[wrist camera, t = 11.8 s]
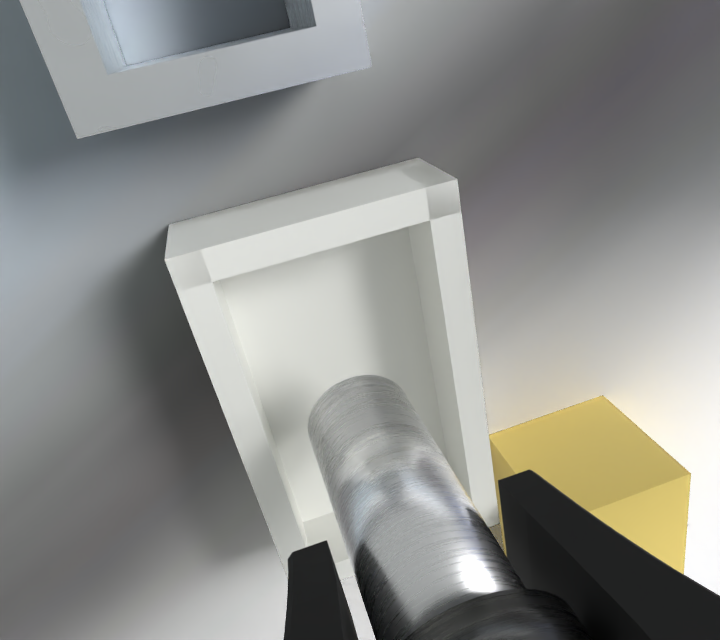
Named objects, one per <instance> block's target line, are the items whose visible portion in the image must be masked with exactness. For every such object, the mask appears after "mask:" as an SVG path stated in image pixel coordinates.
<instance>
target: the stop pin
mask: <svg viewBox="0 0 720 640" xmlns="http://www.w3.org/2000/svg"><path fill="white" fill-rule="evenodd" d="M308 435H309V439H310V442H311V445H312V448H313V451H314V454H315V457H316V460H317V463H318V466H319V469H320V472H321V475H322V478H323V481H324V484H325V487H326V490H327V493H328V496H329V499H330V502H331V505H332V508H333V511H334V514H335V517H336V520H337V523H338V526H339V529H340V532H341V535H342V538H343V541H344V545H345V548H346V551H347V554H348V557H349V560H350V563H351V566H352V569H353V572H354V575H355V578H356V581H357V584H358V587H359V590H360V593H361V596H362V599H363V602H364V605H365V608H366V611H367V614H368V617H369V620H370V623H371V626H372V629H373V632H374V635H375V638H376V640H593V639H592V638H591V636H590V635H589V633H588V632H587V630H586V629H585V627H584V626H583V624H582V623H581V621H580V620H579V618H578V617H577V615H576V614H575V612H574V611H573V609H572V608H571V607H570V605H569V604H568V603H567V602H566V601H565V600H564V599H562V598H560V597H559V596H557V595H555V594H552V593H549V592H547V591H542V590H536V589H526V587H525V586H524V584H523V583H522V581H521V579H520V578H519V576H518V574H517V573H516V571H515V570H514V568H513V566H512V565H511V563H510V562H509V560H508V558H507V557H506V555H505V554H504V552H503V550H502V549H501V547H500V545H499V544H498V542H497V541H496V539H495V537H494V536H493V534H492V533H491V531H490V529H489V528H488V526H487V525H486V523H485V521H484V520H483V518H482V517H481V515H480V513H479V512H478V510H477V508H476V507H475V505H474V504H473V502H472V500H471V499H470V497H469V496H468V494H467V492H466V491H465V489H464V488H463V486H462V484H461V483H460V481H459V479H458V478H457V476H456V475H455V473H454V471H453V470H452V468H451V467H450V465H449V463H448V462H447V460H446V459H445V457H444V455H443V454H442V452H441V450H440V449H439V447H438V446H437V444H436V442H435V441H434V439H433V438H432V436H431V434H430V433H429V431H428V430H427V428H426V426H425V425H424V423H423V421H422V420H421V418H420V417H419V415H418V413H417V412H416V410H415V409H414V407H413V405H412V404H411V402H410V401H409V399H408V397H407V396H406V394H405V393H404V391H403V390H402V388H401V387H400V386H399V385H398V384H396V383H395V382H394V381H392V380H390V379H388V378H385V377H382V376H377V375H361V376H355V377H351V378H348V379H345V380H343V381H341V382H339V383H337V384H335V385H334V386H332V387H331V388H329V389H328V390H327V391H326V392H325V393H324V394H323V395H322V396H321V397H320V398H319V399H318V400H317V402H316V403H315V405H314V406H313V408H312V410H311V413H310V415H309V419H308Z"/></svg>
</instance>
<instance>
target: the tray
mask: <svg viewBox="0 0 720 640" xmlns="http://www.w3.org/2000/svg"><path fill="white" fill-rule="evenodd" d="M164 260H165V262H166V265H167V267H168V270H169V273H170V275H171V278H172V280H173V283H174V286H175V288H176V291H177V293H178V296H179V299H180V301H181V304H182V306H183V309H184V312H185V314H186V317H187V319H188V322H189V324H190V327H191V330H192V332H193V335H194V337H195V340H196V343H197V345H198V348H199V350H200V353H201V356H202V358H203V361H204V363H205V366H206V368H207V371H208V374H209V376H210V379H211V381H212V384H213V387H214V389H215V392H216V394H217V397H218V400H219V402H220V405H221V407H222V410H223V412H224V415H225V418H226V420H227V423H228V425H229V428H230V431H231V433H232V436H233V438H234V441H235V444H236V446H237V449H238V451H239V454H240V456H241V459H242V462H243V464H244V467H245V469H246V472H247V475H248V477H249V480H250V482H251V485H252V488H253V490H254V493H255V495H256V498H257V501H258V503H259V506H260V508H261V511H262V513H263V516H264V519H265V521H266V524H267V526H268V529H269V532H270V534H271V537H272V539H273V542H274V545H275V547H276V550H277V552H278V555H279V557H280V560H281V563H282V565H283V568H284V570H285V573H286V576H287V578H288V558H289V556H290V555H291V553H292V552H294V551H297V550H300V549H303V548H305V547H308V546H311V545H314V544H317V543H320V542H323V541H326V540H327V542H328V545H329V548H330V551H331V554H332V557H333V560H334V563H335V567H336V570H337V573H338V576H339V579H340V581H341V580H344V579H346V578H349V577H352V576H355V575H354V572H353V569H352V566H351V563H350V560H349V557H348V554H347V551H346V548H345V545H344V541H343V538H342V535H341V532H340V529H339V526H338V523H337V520H336V517H335V514H334V511H333V508H332V505H331V502H330V499H329V496H328V493H327V490H326V487H325V484H324V481H323V478H322V475H321V472H320V469H319V466H318V463H317V460H316V457H315V454H314V451H313V448H312V445H311V442H310V439H309V435H308V419H309V415H310V413H311V410H312V408H313V406H314V405H315V403H316V402H317V400H318V399H319V398H320V397H321V396H322V395H323V394H324V393H325V392H326V391H327V390H328V389H329V388H331V387H332V386H334V385H335V384H337V383H339V382H341V381H343V380H345V379H348V378H351V377H355V376H361V375H377V376H382V377H385V378H388V379H390V380H392V381H394V382H395V383H396V384H398V385H399V386H400V387H401V388H402V390H403V391H404V393H405V394H406V396H407V397H408V399H409V401H410V402H411V404H412V405H413V407H414V409H415V410H416V412H417V413H418V415H419V417H420V418H421V420H422V421H423V423H424V425H425V426H426V428H427V430H428V431H429V433H430V434H431V436H432V438H433V439H434V441H435V442H436V444H437V446H438V447H439V449H440V450H441V452H442V454H443V455H444V457H445V459H446V460H447V462H448V463H449V465H450V467H451V468H452V470H453V471H454V473H455V475H456V476H457V478H458V479H459V481H460V483H461V484H462V486H463V488H464V489H465V491H466V492H467V494H468V496H469V497H470V499H471V500H472V502H473V504H474V505H475V507H476V508H477V510H478V512H479V513H480V515H481V517H482V518H483V520H484V521H485V523H486V525H487V526H488V528H489V527H492V526H494V525H497V524H500V522H499V513H498V505H497V497H496V489H495V481H494V473H493V465H492V456H491V448H490V440H489V432H488V424H487V416H486V408H485V400H484V391H483V383H482V375H481V367H480V359H479V351H478V343H477V335H476V326H475V318H474V310H473V302H472V294H471V286H470V278H469V270H468V261H467V253H466V245H465V237H464V229H463V221H462V213H461V205H460V196H459V188H458V180H457V178H455V177H453V176H451V175H449V174H448V173H446V172H444V171H442V170H440V169H439V168H437V167H435V166H433V165H431V164H429V163H428V162H426V161H424V160H422V159H420V158H419V157H418V158H414V159H411V160H407V161H403V162H399V163H396V164H392V165H388V166H384V167H381V168H377V169H373V170H370V171H366V172H362V173H358V174H355V175H351V176H347V177H343V178H340V179H336V180H332V181H329V182H325V183H321V184H317V185H314V186H310V187H306V188H302V189H299V190H295V191H291V192H288V193H284V194H280V195H276V196H273V197H269V198H265V199H261V200H258V201H254V202H250V203H247V204H243V205H239V206H235V207H232V208H228V209H224V210H220V211H217V212H213V213H209V214H205V215H202V216H198V217H194V218H191V219H187V220H183V221H179V222H176V223H172V224H169V229H168V236H167V244H166V252H165V259H164Z"/></svg>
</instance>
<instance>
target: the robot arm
mask: <svg viewBox="0 0 720 640" xmlns="http://www.w3.org/2000/svg"><path fill="white" fill-rule="evenodd" d="M498 486H499V495H500V503H501V511H502V520H503V528H504V536H505V545H506V553H507V558H508V560H509V562H510V563H511V565H512V566H513V568H514V570H515V571H516V573H517V574H518V576H519V578H520V579H521V581H522V583H523V584H524V586H525V587H526V589H536V590H542V591H547V592H549V593H552V594H555V595H557V596H559V597H560V598H562V599H564V600H565V601H566V602H567V603H568V604H569V605H570V607H571V608H572V609H573V611H574V612H575V614H576V615H577V617H578V618H579V620H580V621H581V623H582V624H583V626H584V627H585V629H586V630H587V632H588V633H589V635H590V636H591V638H592V639H593V640H720V596H719V595H717V594H716V593H714V592H712V591H710V590H709V589H707V588H705V587H704V586H702V585H700V584H699V583H697V582H695V581H694V580H692V579H690V578H689V577H687V576H685V575H684V574H682V573H680V572H679V571H677V570H675V569H674V568H672V567H671V566H669V565H667V564H666V563H664V562H663V561H661V560H659V559H658V558H656V557H655V556H653V555H652V554H650V553H649V552H647V551H646V550H644V549H643V548H641V547H639V546H638V545H636V544H635V543H633V542H632V541H630V540H629V539H627V538H626V537H624V536H623V535H621V534H620V533H618V532H617V531H615V530H614V529H612V528H611V527H610V526H608V525H607V524H605V523H604V522H602V521H601V520H599V519H598V518H597V517H595V516H594V515H592V514H591V513H590V512H588V511H587V510H585V509H584V508H583V507H581V506H580V505H578V504H577V503H576V502H574V501H573V500H572V499H570V498H569V497H568V496H566V495H565V494H563V493H562V492H561V491H559V490H558V489H557V488H555V487H554V486H553V485H551V484H550V483H549V482H547V481H546V480H545V479H543V478H542V477H541V476H540V475H538V474H537V473H536V472H534V471H532V470H530V469H529V470H526V471H523V472H520V473H518V474H515V475H512V476H509V477H506V478H503V479H500V480H498ZM284 640H358V637H357V634H356V630H355V627H354V623H353V619H352V616H351V613H350V610H349V607H348V604H347V600H346V597H345V594H344V591H343V588H342V585H341V582H340V579H339V576H338V573H337V570H336V567H335V563H334V560H333V557H332V554H331V551H330V548H329V545H328V542H327V540H326V541H323V542H320V543H317V544H314V545H311V546H308V547H305V548H303V549H300V550H297V551H294V552H292V553H291V555H290V556H289V558H288V597H287V611H286V622H285V633H284Z"/></svg>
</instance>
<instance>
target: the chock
mask: <svg viewBox="0 0 720 640" xmlns="http://www.w3.org/2000/svg"><path fill="white" fill-rule="evenodd" d="M489 440H490V448H491V456H492V465H493V473H494V481H495V489H496V497H497V504H498V511H499V518H500V526H501V533H502V540H503V547H504V554H505V555H506V557H507V553H506V545H505V536H504V528H503V520H502V511H501V503H500V495H499V486H498V480H500V479H503V478H506V477H509V476H512V475H515V474H518V473H520V472H523V471H526V470H529V469H530V470H532V471H534V472H536V473H537V474H538V475H540V476H541V477H542V478H543V479H545V480H546V481H547V482H549V483H550V484H551V485H553V486H554V487H555V488H557V489H558V490H559V491H561V492H562V493H563V494H565V495H566V496H568V497H569V498H570V499H572V500H573V501H574V502H576V503H577V504H578V505H580V506H581V507H583V508H584V509H585V510H587V511H588V512H590V513H591V514H592V515H594V516H595V517H597V518H598V519H599V520H601V521H602V522H604V523H605V524H607V525H608V526H610V527H611V528H612V529H614V530H615V531H617V532H618V533H620V534H621V535H623V536H624V537H626V538H627V539H629V540H630V541H632V542H633V543H635V544H636V545H638V546H639V547H641V548H643V549H644V550H646V551H647V552H649V553H650V554H652V555H653V556H655V557H656V558H658V559H659V560H661V561H663V562H664V563H666V564H667V565H669V566H671V567H672V568H674V569H675V570H677V571H679V572H680V573H682V574H684V561H685V548H686V534H687V520H688V506H689V492H690V479H691V473H690V472H688V471H687V470H686V469H685V468H684V467H683V466H682V465H681V464H679V463H678V462H677V461H676V460H675V459H674V458H673V457H672V456H670V455H669V454H668V453H667V452H666V451H665V450H664V449H663V448H661V447H660V446H659V445H658V444H657V443H656V442H655V441H654V440H653V439H651V438H650V437H649V436H648V435H647V434H646V433H645V432H644V431H642V430H641V429H640V428H639V427H638V426H637V425H636V424H635V423H633V422H632V421H631V420H630V419H629V418H628V417H627V416H626V415H624V414H623V413H622V412H621V411H620V410H619V409H618V408H617V407H615V406H614V405H613V404H612V403H611V402H610V401H609V400H608V399H606V398H605V397H604V396H603V395H602V396H599V397H596V398H594V399H591V400H588V401H585V402H582V403H579V404H576V405H573V406H571V407H568V408H565V409H562V410H559V411H556V412H553V413H551V414H548V415H545V416H542V417H539V418H536V419H533V420H531V421H528V422H525V423H522V424H519V425H516V426H513V427H510V428H508V429H505V430H502V431H499V432H496V433H493V434H490V435H489Z"/></svg>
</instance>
